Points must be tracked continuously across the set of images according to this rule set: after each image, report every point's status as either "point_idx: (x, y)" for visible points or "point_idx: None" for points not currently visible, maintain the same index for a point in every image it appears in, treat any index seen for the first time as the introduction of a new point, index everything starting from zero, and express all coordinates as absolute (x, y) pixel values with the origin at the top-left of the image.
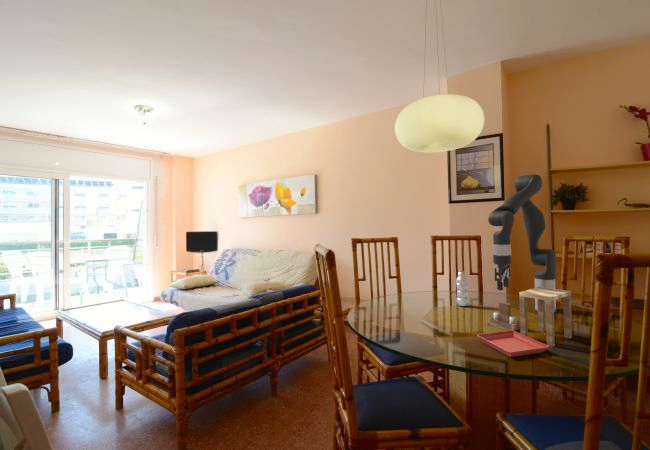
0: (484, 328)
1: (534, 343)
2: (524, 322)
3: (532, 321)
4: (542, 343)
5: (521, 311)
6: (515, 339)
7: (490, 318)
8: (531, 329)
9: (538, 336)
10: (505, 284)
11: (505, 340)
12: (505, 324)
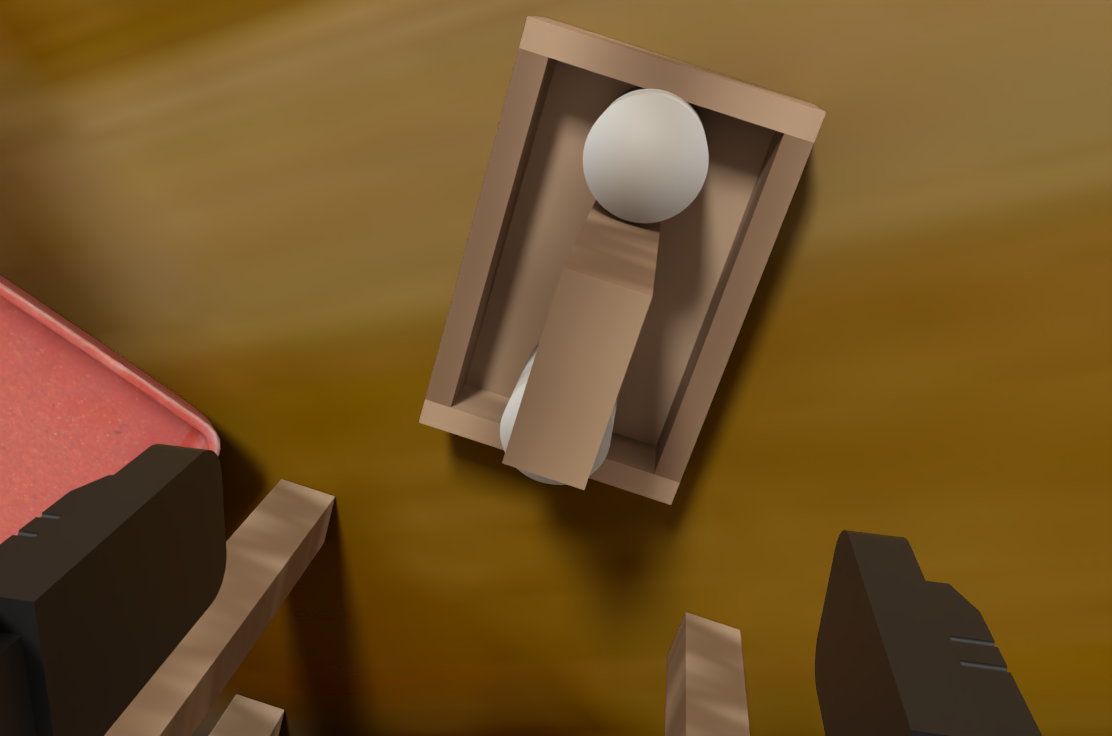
0: (350, 19)
1: None
2: None
3: (1099, 526)
4: None
5: None
6: None
7: (576, 52)
8: (689, 545)
9: (463, 623)
10: (846, 635)
11: (31, 373)
12: (450, 311)
